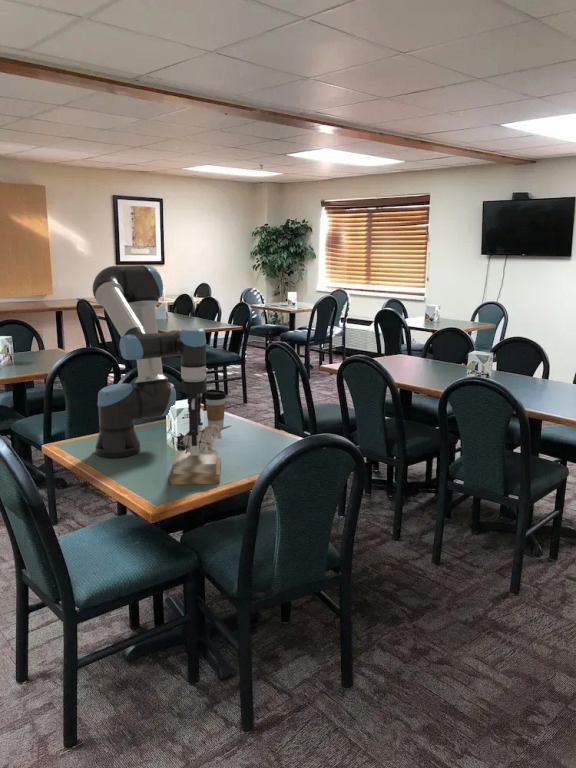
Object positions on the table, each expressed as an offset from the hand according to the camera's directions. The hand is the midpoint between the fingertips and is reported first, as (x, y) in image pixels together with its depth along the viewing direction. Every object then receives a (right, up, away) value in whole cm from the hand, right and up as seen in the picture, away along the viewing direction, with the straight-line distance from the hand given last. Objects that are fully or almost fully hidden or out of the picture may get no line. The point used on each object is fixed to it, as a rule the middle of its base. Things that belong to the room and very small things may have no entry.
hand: (195, 450), depth 194 cm
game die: (0, -1, 0) cm, 1 cm away
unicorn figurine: (+4, -5, +19) cm, 20 cm away
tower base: (0, -8, +2) cm, 8 cm away
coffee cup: (0, +3, +54) cm, 54 cm away
